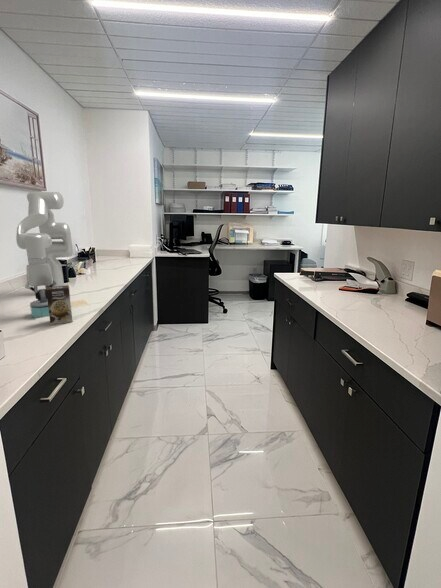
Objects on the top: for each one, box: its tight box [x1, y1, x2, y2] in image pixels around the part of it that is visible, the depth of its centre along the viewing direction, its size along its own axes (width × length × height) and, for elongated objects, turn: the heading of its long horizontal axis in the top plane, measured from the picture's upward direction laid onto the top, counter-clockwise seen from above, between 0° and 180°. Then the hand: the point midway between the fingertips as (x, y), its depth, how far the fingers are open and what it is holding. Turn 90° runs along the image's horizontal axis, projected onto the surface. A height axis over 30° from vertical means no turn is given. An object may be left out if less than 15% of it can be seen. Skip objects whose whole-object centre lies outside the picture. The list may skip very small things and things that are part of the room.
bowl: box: [29, 305, 49, 319], centre depth 149 cm, size 11×11×5 cm
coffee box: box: [45, 284, 74, 326], centre depth 138 cm, size 9×6×16 cm
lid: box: [29, 288, 48, 307], centre depth 147 cm, size 11×11×7 cm
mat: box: [70, 299, 89, 308], centre depth 166 cm, size 11×11×1 cm
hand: (43, 299), depth 148 cm, fingers closed on lid, 3 cm apart
